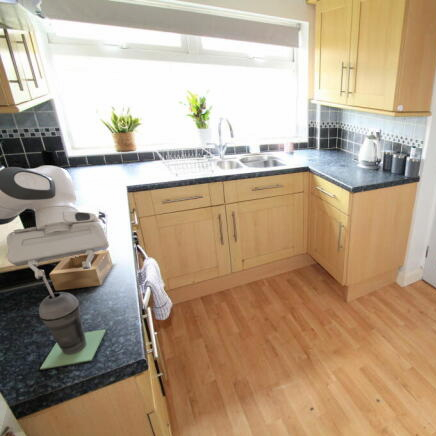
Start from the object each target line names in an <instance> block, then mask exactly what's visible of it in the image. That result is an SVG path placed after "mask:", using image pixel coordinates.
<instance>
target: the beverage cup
mask: <svg viewBox="0 0 436 436" xmlns="http://www.w3.org/2000/svg"><path fill="white" fill-rule="evenodd" d="M42 280H43V282H44V284H45V286H46V288H47V290H48V292H49V295H47V296H46V297H44V299H43V300H42V301H41V302H40V304H39V306H38V317H39V320H41V321H42V323H43V324H44V325H45V326H46V327H47V329H48V330H49V332H50V334H51V335H52V337H53V339H54V340H55V343H57V344H58V345H59V347H60V349H61V350H62V351H63V353H64V354H66V355H72V354H75V353H78V352H79V351H81V350H82V349H84V348H85V346H86V337H85V328H84V325H83V319H82V316H81V306H80V305H81V303H80V301H79V300H78V298H77V297H76V295H74V294H72V293H69V292H65V291H56V292H53V290H52V288H51V285H50V284H49V282H48V279H47V278H46V276H45V277H43V278H42Z"/></svg>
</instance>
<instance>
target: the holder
mask: <svg viewBox="0 0 436 436" xmlns="http://www.w3.org/2000/svg"><path fill="white" fill-rule="evenodd" d="M94 255H95V256H94V257H93V259H92V261H91V262H90V263H91V268H89V269H83V264H82V262H83V261H86V259H87V257H88V255H87V254H84V255H79V257H76V256H75V258H71V257H68V258H64V259H63V258H61V260H60V262H58V264H57V265H56V266H55V267H54V268H53V270H51V271H50V273H49V274H48V275H49V277H50V281H51V282H52V285H53V288H54V290H55V292H58V291H64V290H73V289H80V288H88V287H97V286H101V285H102V284H103V282H104V281H105V279H106V278H107V275H108V274H109V273H110V271H111V269H112V267H113V266H114V265H113V261H112V257H111V254H110V251H109V249H106V250H101V251H96V252H94Z"/></svg>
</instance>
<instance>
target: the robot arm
mask: <svg viewBox="0 0 436 436" xmlns="http://www.w3.org/2000/svg"><path fill="white" fill-rule="evenodd" d="M75 187H76V186H75V183H74V180H73V178H72V176H71V174H70V173H69V172H68V171H67V170H65V169H64V168H62V167H59V166H56V165H48V164H47V165H40V166H38V167H35V168H23V167H18V166H8V167H4V168H2V169H0V226H2V225H6V224H9V223H11V222H13V221H15V220H16V219H17V218H18V216H20V215H21V214H22V213H23V212H24V211H25V210H32V211H34V216H35V226H33V227H26V228H18V229H14V230H13V231H11V232H10V233H8V235H7V236H6V243H7V262H9V264H12V265H14V266H15V267H21V266H28V267H29V268H30V269H31V270H32V271H33V272H34V277H35V279H36V280H41V279H43V277H46V271H45V270H44V269H39V268H38V267H39V266H40V265H39V263H43V262H47V261H52V260H53V261H54V260H57V259H63V258H64V257H69V256H75V255H80V254H85V253H86V254H87V255H88V257H87V259H86V261H83V262H82V264H83V269H89V268H91V263H90V262H91V261H92V259H93V257H94V256H95V255H94V252H96V251H105V250H108V248H109V247H110V243H109V238H108V236H107V234H106V231H105V229H104V227H103V225H101V221H100V219H99V217H98V215H96V214H95V213H94V212H89V211H88V212H86V211H79V209H78V208H77V206H76V202H77V194H76V193H77V192H76V188H75Z"/></svg>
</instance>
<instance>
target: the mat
mask: <svg viewBox="0 0 436 436" xmlns="http://www.w3.org/2000/svg"><path fill="white" fill-rule="evenodd" d="M106 332H107V329H104V328H103V329H99V330H92V331H86V332H85V331H84V333H85V337H86V346H85V348H84V349H82V350H81V351H79V352H78V353H75V354H72V355H66V354H64V353H63V351H62V350H61V349H60V347H59V345H58V344H57V342H55V344H54V346H53V347H52V348H51V350H50V352H49V354H48V355H47V357H46V358H45V360H43V361H44V362H43V363H42V365H41V366H40V368H39V370H40V371H42V370H46V369H47V370H48V369H52V368H59V367H64V366H70V365H76V364H80V363H82V364H83V363H87V362H92V361H93V359H94V358H95V355H96V353H97V351H98V349H99V346H100V345H101V342H102V341H103V338H104V336H105V334H106Z"/></svg>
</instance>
